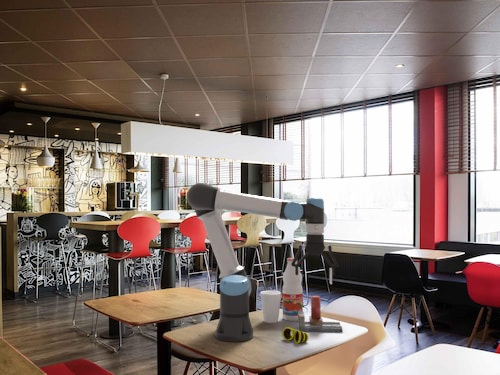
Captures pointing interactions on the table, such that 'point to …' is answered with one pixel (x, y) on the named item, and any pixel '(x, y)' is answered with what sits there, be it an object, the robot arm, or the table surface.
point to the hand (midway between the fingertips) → (314, 283)
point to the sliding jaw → (315, 311)
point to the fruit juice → (292, 293)
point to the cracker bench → (326, 326)
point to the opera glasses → (294, 335)
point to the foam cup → (270, 305)
